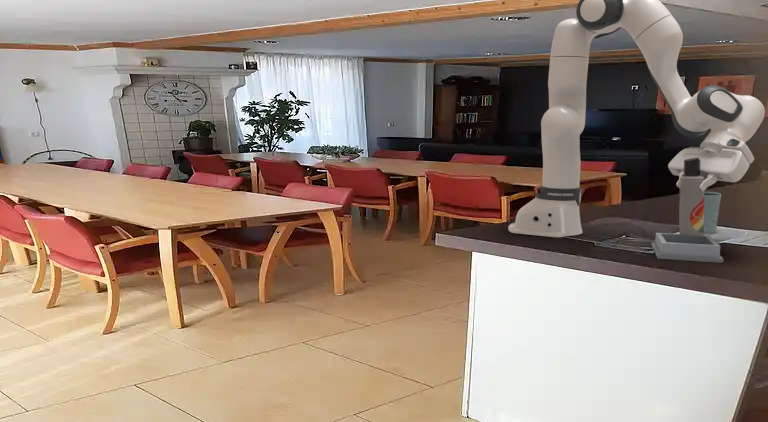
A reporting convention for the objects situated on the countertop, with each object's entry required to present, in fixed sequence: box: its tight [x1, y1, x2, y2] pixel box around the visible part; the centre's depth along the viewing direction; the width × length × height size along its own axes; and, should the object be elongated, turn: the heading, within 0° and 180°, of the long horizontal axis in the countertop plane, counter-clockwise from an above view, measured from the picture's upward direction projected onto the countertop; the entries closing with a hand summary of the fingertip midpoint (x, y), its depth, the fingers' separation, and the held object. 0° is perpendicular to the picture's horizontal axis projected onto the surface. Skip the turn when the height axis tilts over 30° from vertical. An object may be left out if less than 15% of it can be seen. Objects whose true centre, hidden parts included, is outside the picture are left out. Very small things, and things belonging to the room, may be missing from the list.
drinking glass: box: [703, 191, 722, 235], centre depth 188 cm, size 10×10×12 cm
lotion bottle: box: [678, 158, 705, 236], centre depth 157 cm, size 6×6×20 cm
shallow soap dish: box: [651, 232, 724, 264], centre depth 160 cm, size 15×15×4 cm
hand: (689, 188), depth 157 cm, fingers closed on lotion bottle, 5 cm apart
